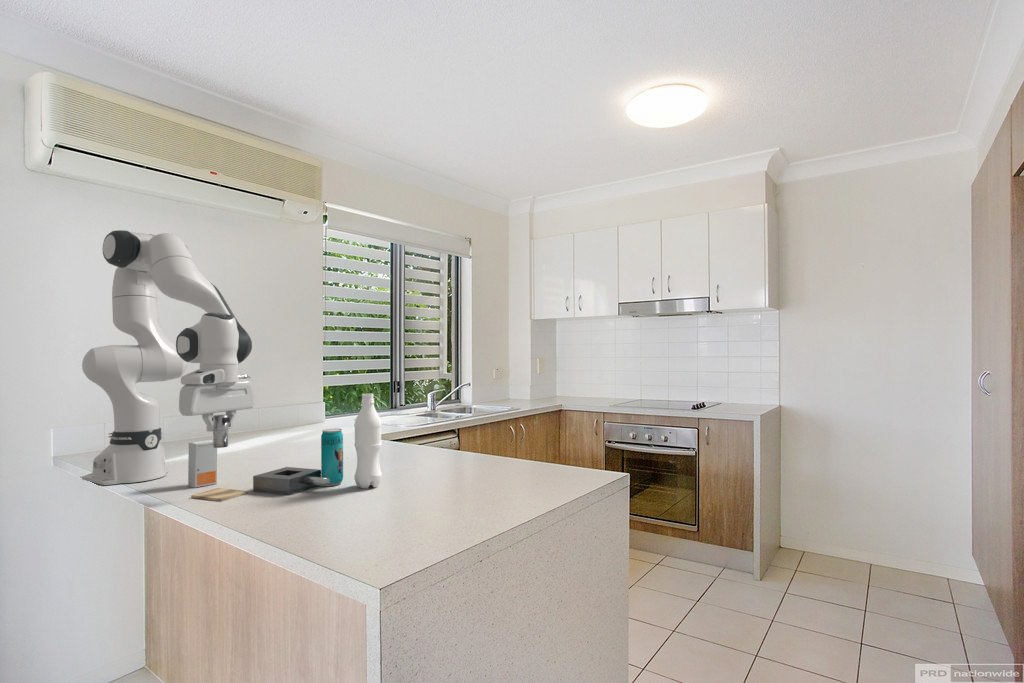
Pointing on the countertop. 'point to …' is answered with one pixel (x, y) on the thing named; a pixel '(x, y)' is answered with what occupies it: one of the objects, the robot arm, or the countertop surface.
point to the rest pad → (219, 494)
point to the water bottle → (367, 444)
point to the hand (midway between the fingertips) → (219, 429)
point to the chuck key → (220, 431)
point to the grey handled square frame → (288, 480)
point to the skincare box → (202, 464)
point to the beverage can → (332, 455)
